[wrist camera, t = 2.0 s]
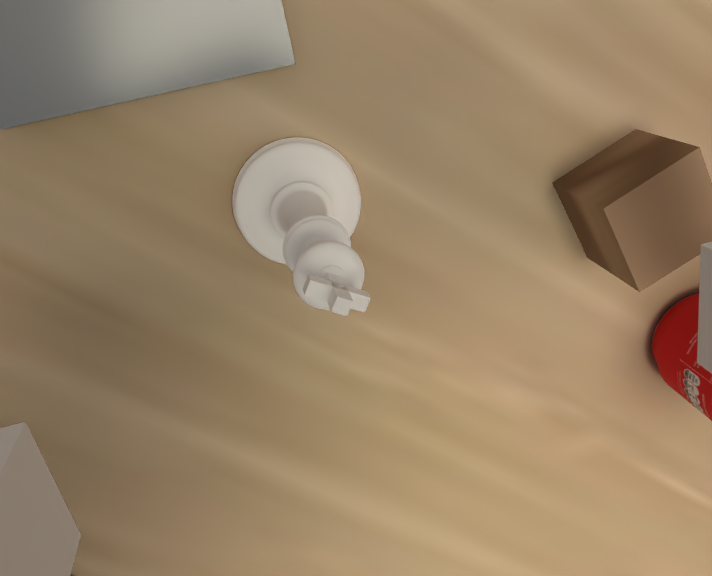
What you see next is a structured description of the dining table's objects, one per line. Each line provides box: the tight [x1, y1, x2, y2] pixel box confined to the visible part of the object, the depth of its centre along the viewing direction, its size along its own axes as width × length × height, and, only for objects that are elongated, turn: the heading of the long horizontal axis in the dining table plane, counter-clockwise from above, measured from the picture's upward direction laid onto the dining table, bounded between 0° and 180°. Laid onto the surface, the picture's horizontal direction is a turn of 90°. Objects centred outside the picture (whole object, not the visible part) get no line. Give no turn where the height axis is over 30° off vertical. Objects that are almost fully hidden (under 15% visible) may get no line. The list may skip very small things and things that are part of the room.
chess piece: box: [232, 137, 371, 316], centre depth 21 cm, size 5×5×10 cm
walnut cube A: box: [553, 130, 712, 292], centre depth 26 cm, size 4×4×4 cm
